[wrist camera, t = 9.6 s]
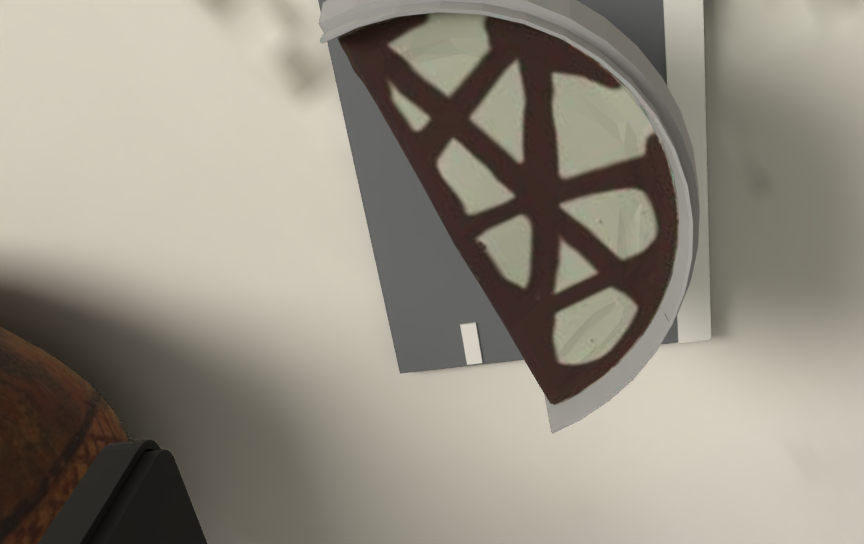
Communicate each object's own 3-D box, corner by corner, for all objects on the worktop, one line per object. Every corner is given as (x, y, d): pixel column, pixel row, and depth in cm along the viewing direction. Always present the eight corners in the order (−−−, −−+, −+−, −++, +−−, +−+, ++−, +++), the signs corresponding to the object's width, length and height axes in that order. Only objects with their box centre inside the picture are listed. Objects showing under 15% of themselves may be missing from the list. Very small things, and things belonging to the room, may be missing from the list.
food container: (697, 204, 29) (795, 357, 20) (538, 276, 30) (560, 448, 21) (545, -141, 24) (581, -146, 15) (367, -35, 26) (305, 17, 17)
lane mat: (692, -201, 24) (698, -202, 23) (706, 330, 31) (711, 339, 31) (295, -124, 25) (290, -124, 25) (401, 364, 33) (399, 374, 32)
